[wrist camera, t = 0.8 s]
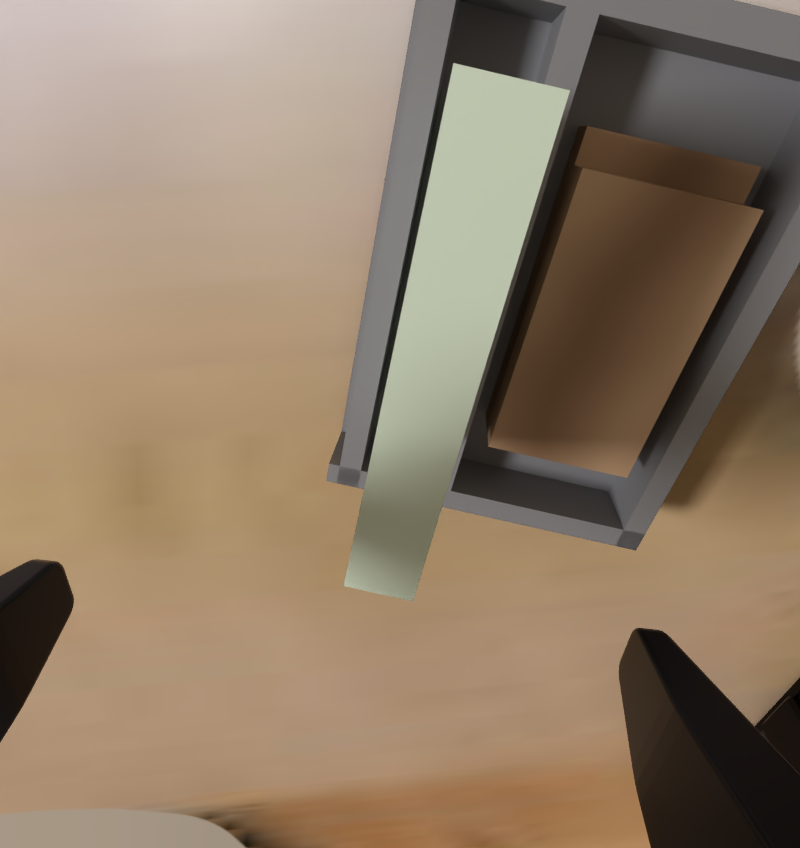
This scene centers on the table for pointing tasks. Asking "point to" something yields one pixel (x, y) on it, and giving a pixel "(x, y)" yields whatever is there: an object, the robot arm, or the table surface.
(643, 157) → the offcut low
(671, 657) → the robot arm
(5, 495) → the table surface
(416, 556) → the board
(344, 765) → the table surface
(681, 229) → the offcut top
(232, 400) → the table surface
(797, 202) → the rack
